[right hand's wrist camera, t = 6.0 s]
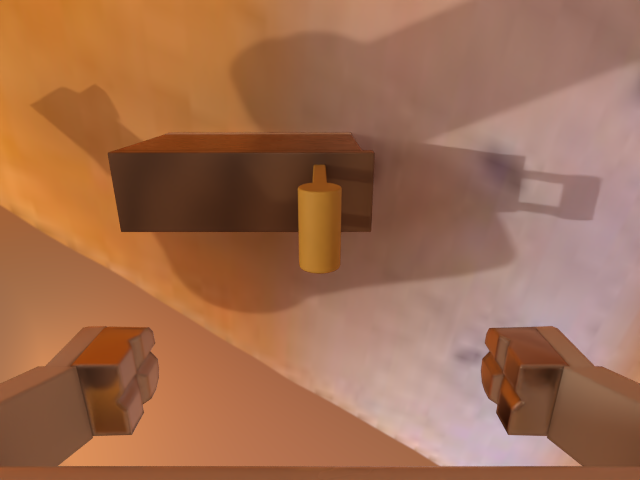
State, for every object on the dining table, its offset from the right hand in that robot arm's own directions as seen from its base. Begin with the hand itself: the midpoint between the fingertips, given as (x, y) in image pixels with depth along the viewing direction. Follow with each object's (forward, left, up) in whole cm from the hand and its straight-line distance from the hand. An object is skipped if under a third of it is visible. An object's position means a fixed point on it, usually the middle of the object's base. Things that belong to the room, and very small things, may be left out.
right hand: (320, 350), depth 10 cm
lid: (+2, +4, -17) cm, 17 cm away
